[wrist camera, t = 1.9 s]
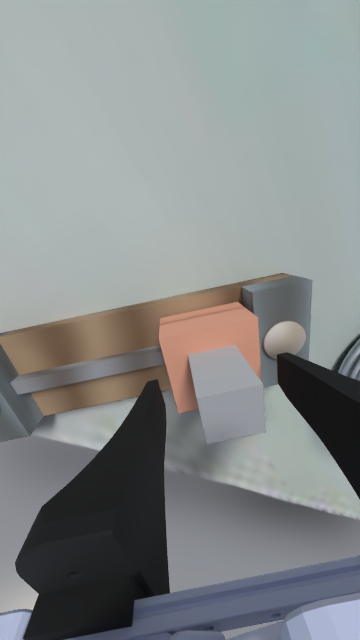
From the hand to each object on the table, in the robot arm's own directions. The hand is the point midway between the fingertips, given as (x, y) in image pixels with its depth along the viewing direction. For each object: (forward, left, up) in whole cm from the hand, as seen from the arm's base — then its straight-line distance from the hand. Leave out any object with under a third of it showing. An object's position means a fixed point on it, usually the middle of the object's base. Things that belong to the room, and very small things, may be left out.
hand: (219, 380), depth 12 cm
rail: (-6, 0, -6) cm, 9 cm away
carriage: (0, 0, -5) cm, 5 cm away
